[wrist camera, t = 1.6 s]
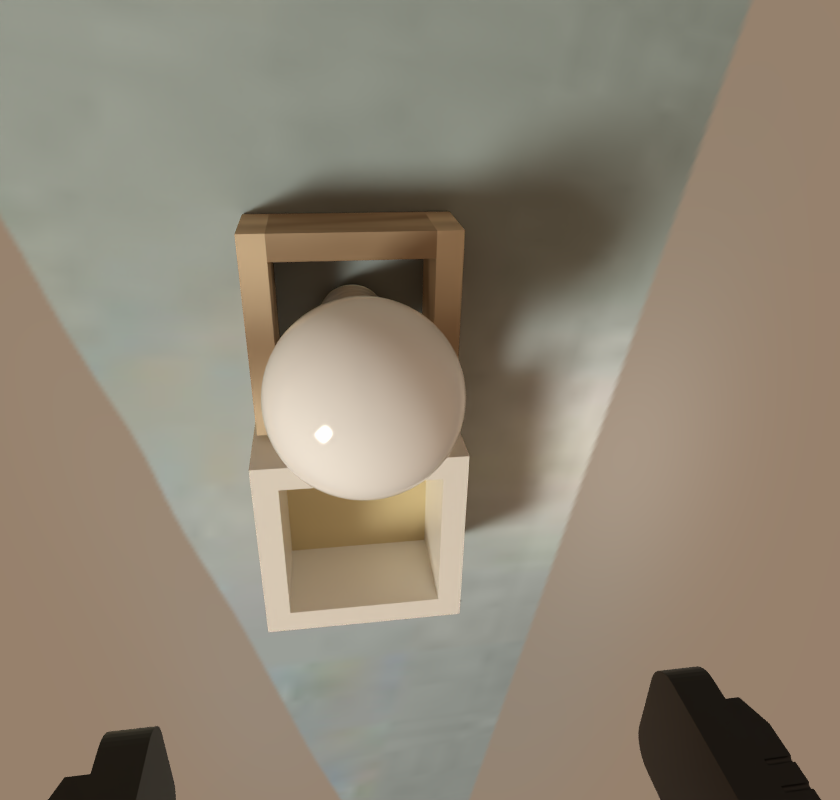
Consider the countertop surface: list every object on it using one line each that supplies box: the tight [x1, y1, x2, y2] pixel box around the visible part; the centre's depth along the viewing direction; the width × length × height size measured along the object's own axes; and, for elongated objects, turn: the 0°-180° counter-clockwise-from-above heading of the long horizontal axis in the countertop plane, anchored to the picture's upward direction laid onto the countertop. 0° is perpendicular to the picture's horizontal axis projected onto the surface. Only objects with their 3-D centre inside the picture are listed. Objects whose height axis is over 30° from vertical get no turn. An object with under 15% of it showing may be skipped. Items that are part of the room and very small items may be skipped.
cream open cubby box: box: [249, 422, 469, 632], centre depth 30 cm, size 8×8×5 cm
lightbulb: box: [261, 284, 466, 501], centre depth 23 cm, size 6×6×11 cm
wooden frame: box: [235, 212, 465, 436], centre depth 26 cm, size 8×8×3 cm
